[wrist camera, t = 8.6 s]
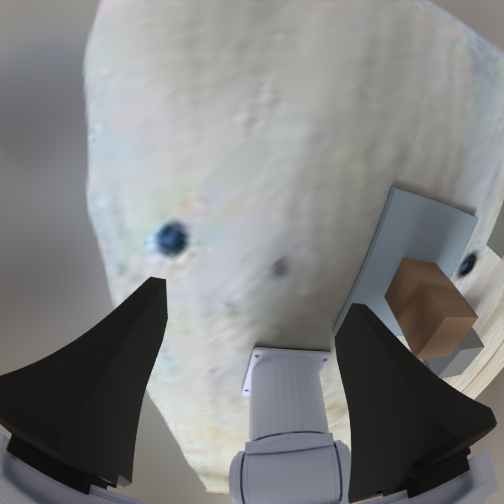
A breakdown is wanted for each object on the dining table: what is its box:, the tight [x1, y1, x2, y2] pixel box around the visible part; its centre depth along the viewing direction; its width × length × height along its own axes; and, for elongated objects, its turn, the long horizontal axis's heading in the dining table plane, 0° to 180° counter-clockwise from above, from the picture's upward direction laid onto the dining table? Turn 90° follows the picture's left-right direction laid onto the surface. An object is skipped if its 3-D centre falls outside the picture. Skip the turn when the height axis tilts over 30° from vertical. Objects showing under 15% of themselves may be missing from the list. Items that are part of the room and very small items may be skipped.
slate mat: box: [333, 186, 478, 336], centre depth 21 cm, size 14×10×1 cm
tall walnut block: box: [384, 258, 478, 359], centre depth 17 cm, size 4×4×7 cm
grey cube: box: [426, 327, 484, 379], centre depth 23 cm, size 5×5×5 cm
